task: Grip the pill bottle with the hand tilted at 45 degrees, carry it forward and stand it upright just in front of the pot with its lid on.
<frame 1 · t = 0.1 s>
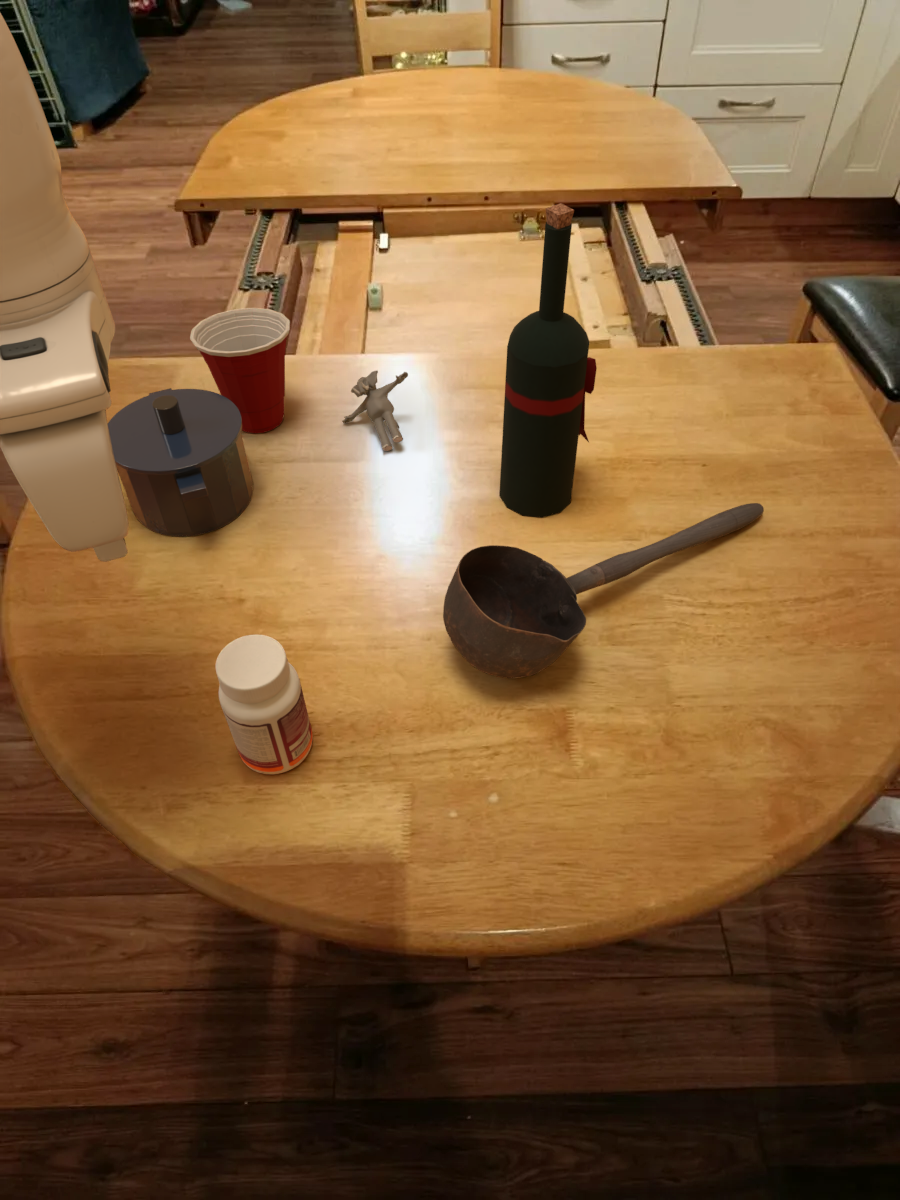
hand: (103, 506, 56), 22 cm above the table, tool pointing down, fingers open, 8 cm apart
pot: (193, 496, 91), on the table
ladle: (620, 589, 81), on the table
elephant figurine: (385, 430, 99), on the table
pot lid: (173, 431, 85), point 8 cm above the table, touching pot
plastic cup: (259, 419, 101), on the table
pill bottle: (276, 746, 70), on the table
wine bottle: (544, 490, 91), on the table
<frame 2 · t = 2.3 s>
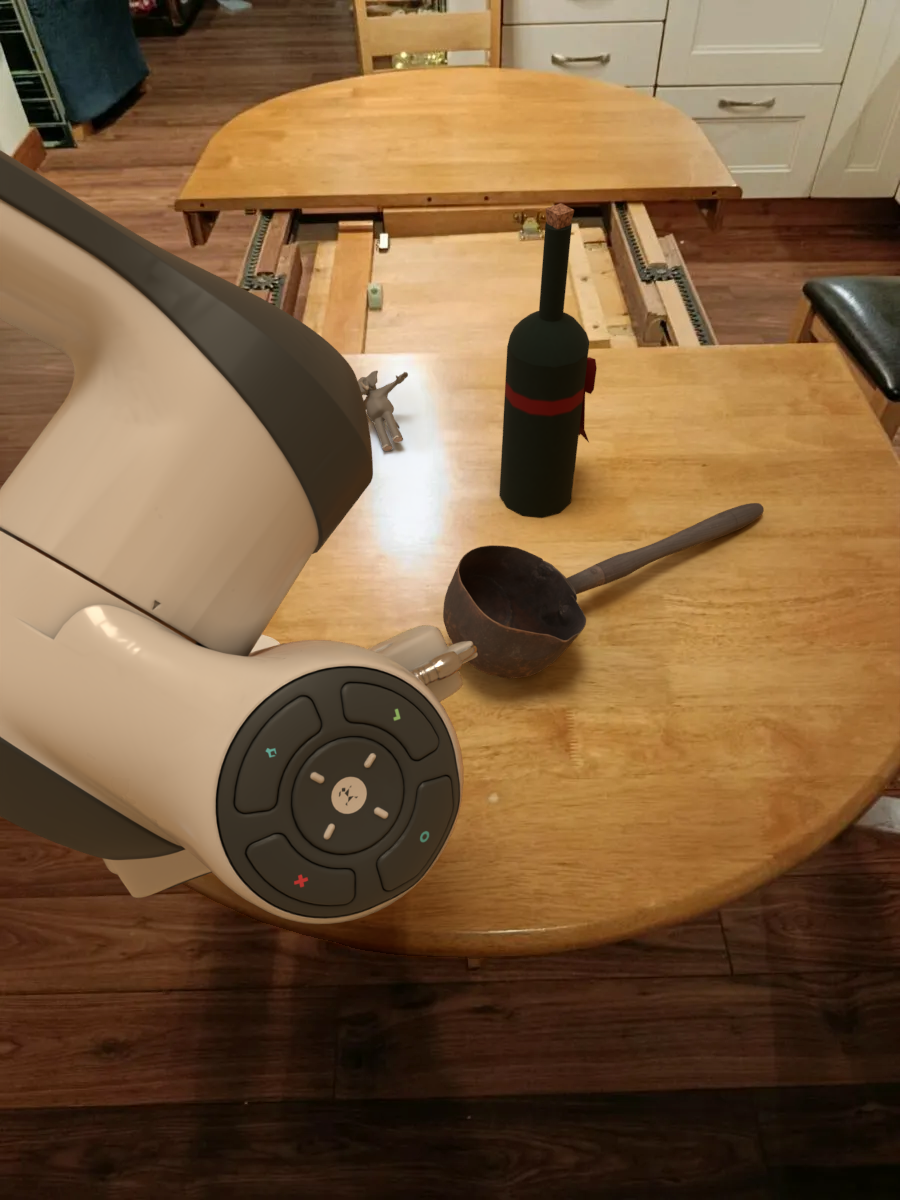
hand: (266, 723, 51), 17 cm above the table, tool tilted 40°, fingers open, 8 cm apart
nothing on the table moved.
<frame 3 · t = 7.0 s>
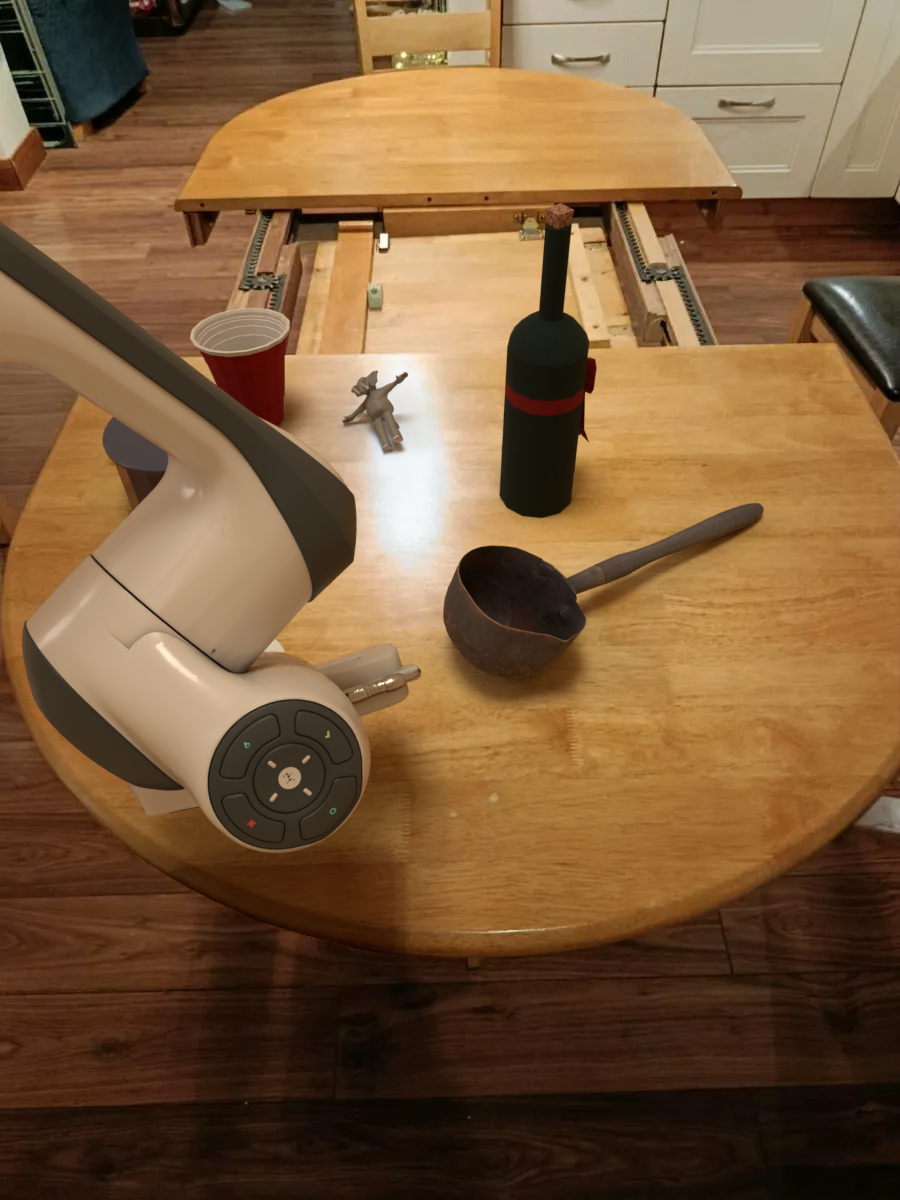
hand: (261, 697, 66), 6 cm above the table, tool tilted 45°, fingers closed on pill bottle, 6 cm apart
pill bottle: (276, 745, 70), on the table, touching gripper
everything else where it was.
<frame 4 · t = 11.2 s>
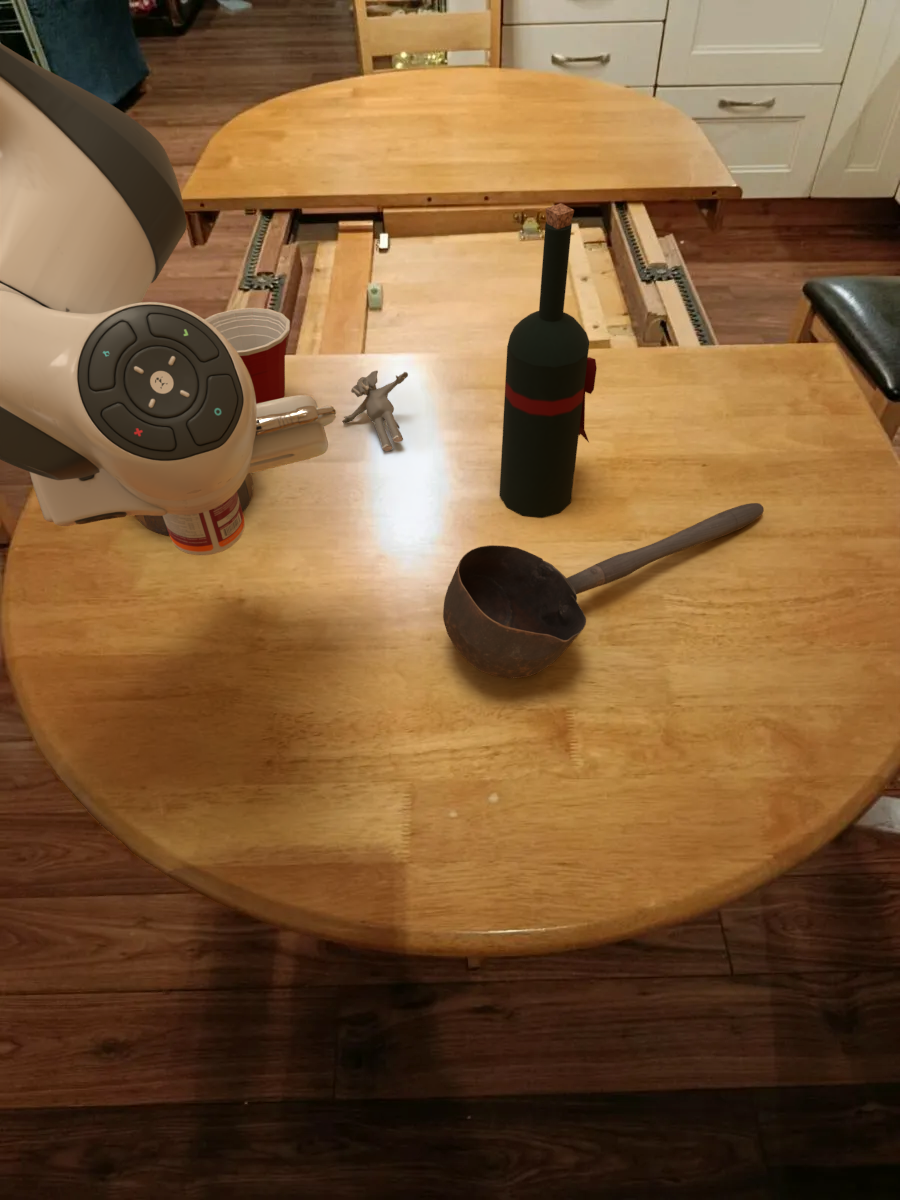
hand: (190, 473, 67), 17 cm above the table, tool tilted 45°, fingers closed on pill bottle, 6 cm apart
pill bottle: (209, 534, 71), point 11 cm above the table, touching gripper
everything else where it was.
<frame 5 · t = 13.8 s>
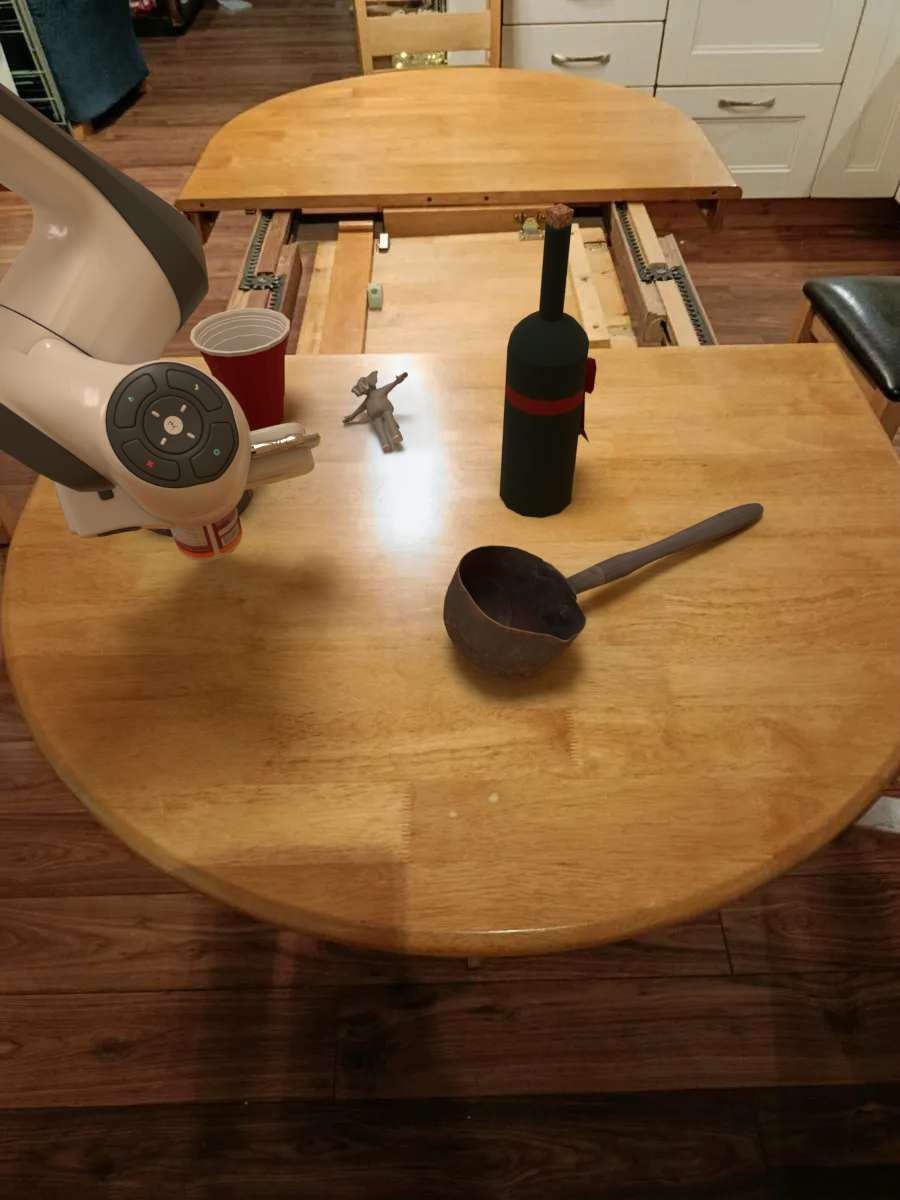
hand: (193, 488, 75), 11 cm above the table, tool tilted 45°, fingers closed on pill bottle, 6 cm apart
pill bottle: (211, 542, 80), point 5 cm above the table, touching gripper
everything else where it was.
when the fingers open (6 cm above the table, at t = 15.8 s): pill bottle stays where it is, on the table.
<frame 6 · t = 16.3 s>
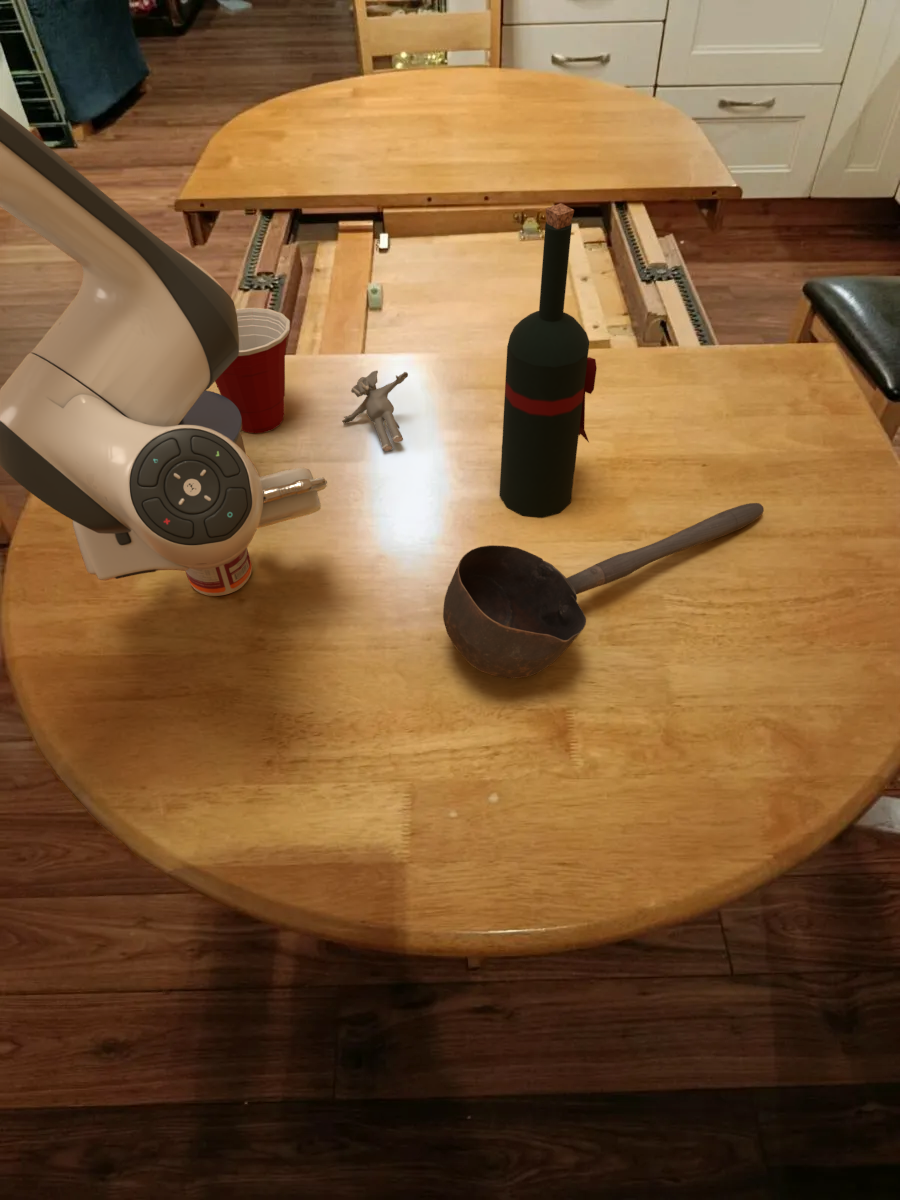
hand: (204, 525, 79), 6 cm above the table, tool tilted 45°, fingers open, 8 cm apart
pill bottle: (221, 577, 83), on the table
everything else where it was.
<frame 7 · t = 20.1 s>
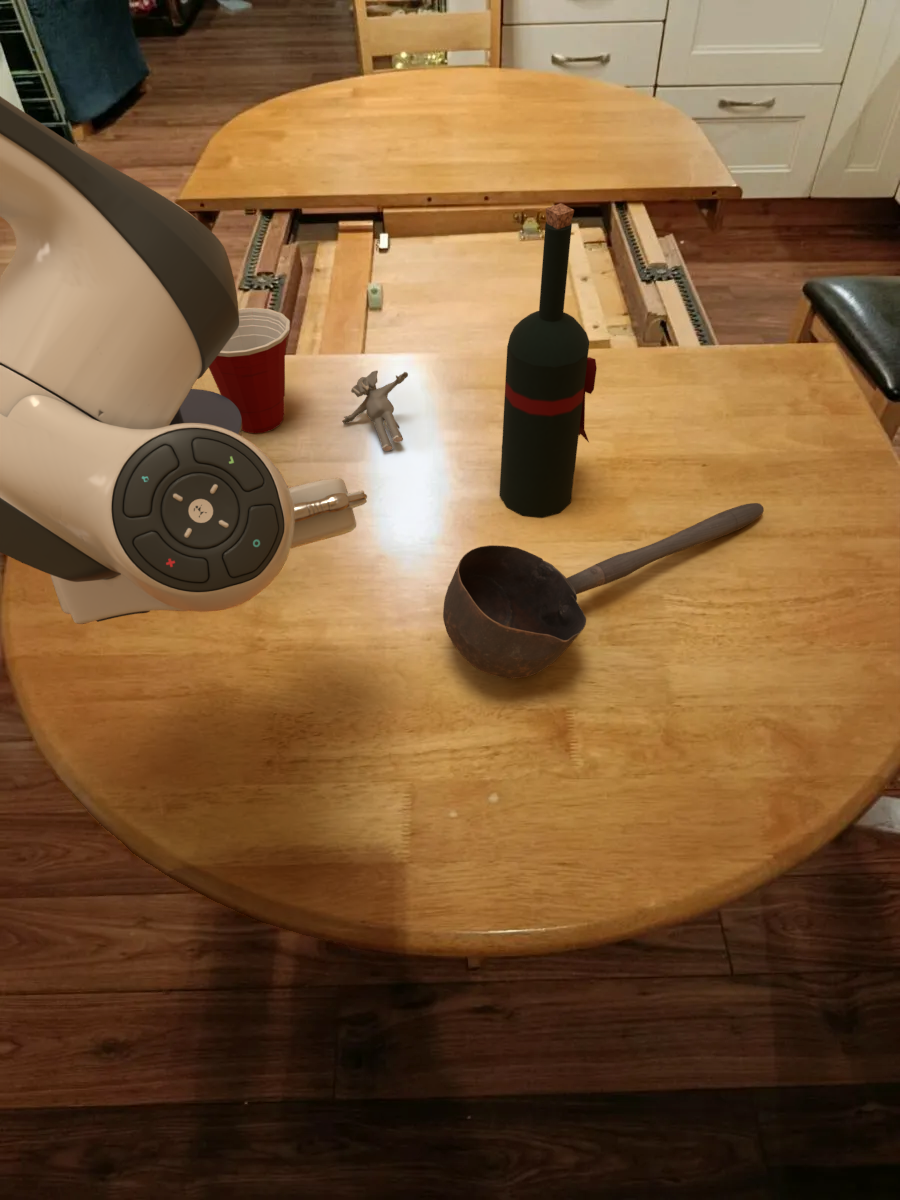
hand: (209, 547, 64), 15 cm above the table, tool tilted 45°, fingers open, 8 cm apart
nothing on the table moved.
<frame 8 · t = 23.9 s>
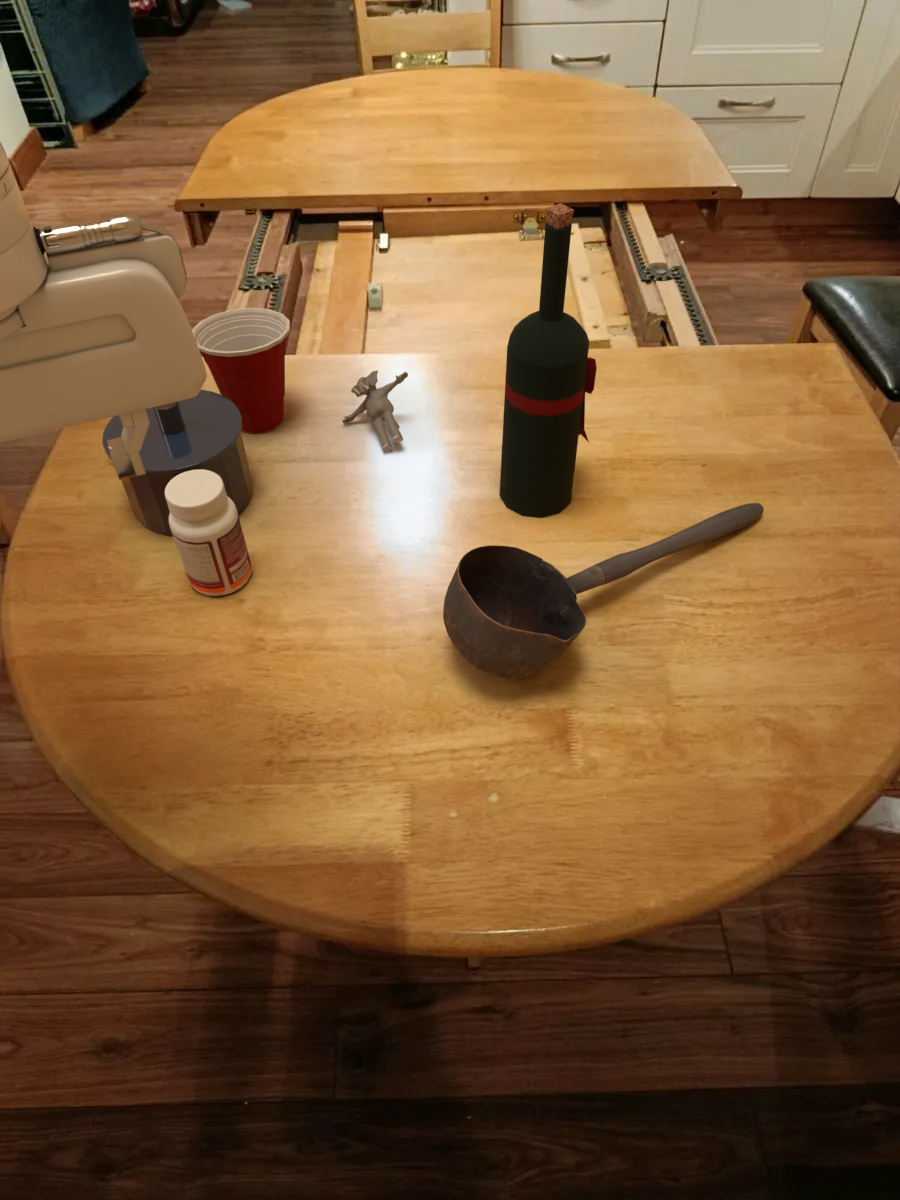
hand: (45, 493, 47), 29 cm above the table, tool pointing down, fingers open, 8 cm apart
nothing on the table moved.
at the end: pill bottle inside the target area on the table beside the pot (0.2 cm from its centre), on the table; pill bottle tilted 0°; the gripper is holding nothing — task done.
